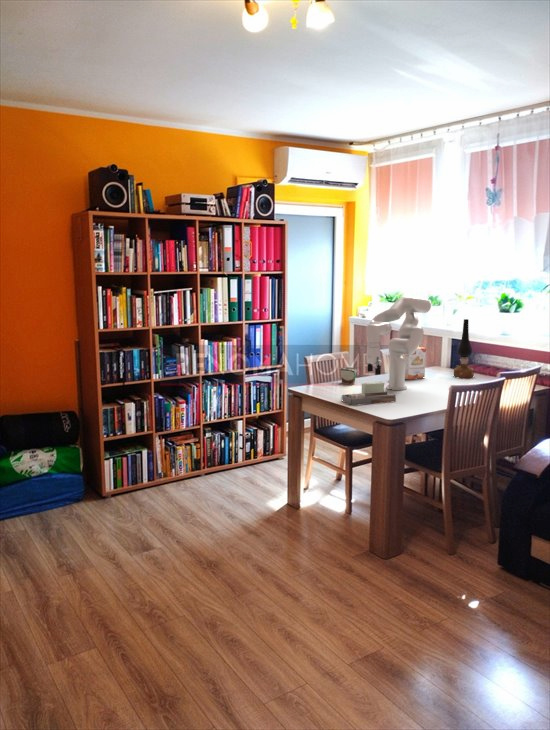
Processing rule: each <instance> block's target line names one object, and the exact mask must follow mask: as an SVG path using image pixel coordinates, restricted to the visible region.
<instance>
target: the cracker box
mask: <svg viewBox="0 0 550 730" xmlns="http://www.w3.org/2000/svg"><path fill="white" fill-rule="evenodd" d="M426 355H427V348H426V347H422V346H420V347H419V346H418V348H417V349H416V351H415V352H414V353H413V354H412V355H406V354H403V356H404V358H405V380H407V379H410V380H415V379H414V378H421V379H424V378H423V377H425V374H426V357H427V356H426Z"/></svg>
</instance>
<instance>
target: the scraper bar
mask: <svg viewBox="0 0 550 730" xmlns="http://www.w3.org/2000/svg"><path fill="white" fill-rule="evenodd" d="M375 392H385V382H383V381H373V382H362V383H361V393H375Z"/></svg>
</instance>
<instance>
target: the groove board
mask: <svg viewBox="0 0 550 730" xmlns="http://www.w3.org/2000/svg"><path fill="white" fill-rule="evenodd" d="M363 394H365V398H371V397H372V404H379V402H383V403H392V402H391V401H394V402H396V401H397V399H396V396H397V395H396V394H388V391H384V392H375V393H363Z"/></svg>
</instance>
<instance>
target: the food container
mask: <svg viewBox="0 0 550 730" xmlns="http://www.w3.org/2000/svg"><path fill="white" fill-rule="evenodd" d="M339 371H340V375H341V384H346V385H351V386H353V385H355V383H356V375H357V374H356V373H357V372H358V371H357V368H356V367H349V366H348V367H347V366H346V367H345V366H343V367H340V370H339Z"/></svg>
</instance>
